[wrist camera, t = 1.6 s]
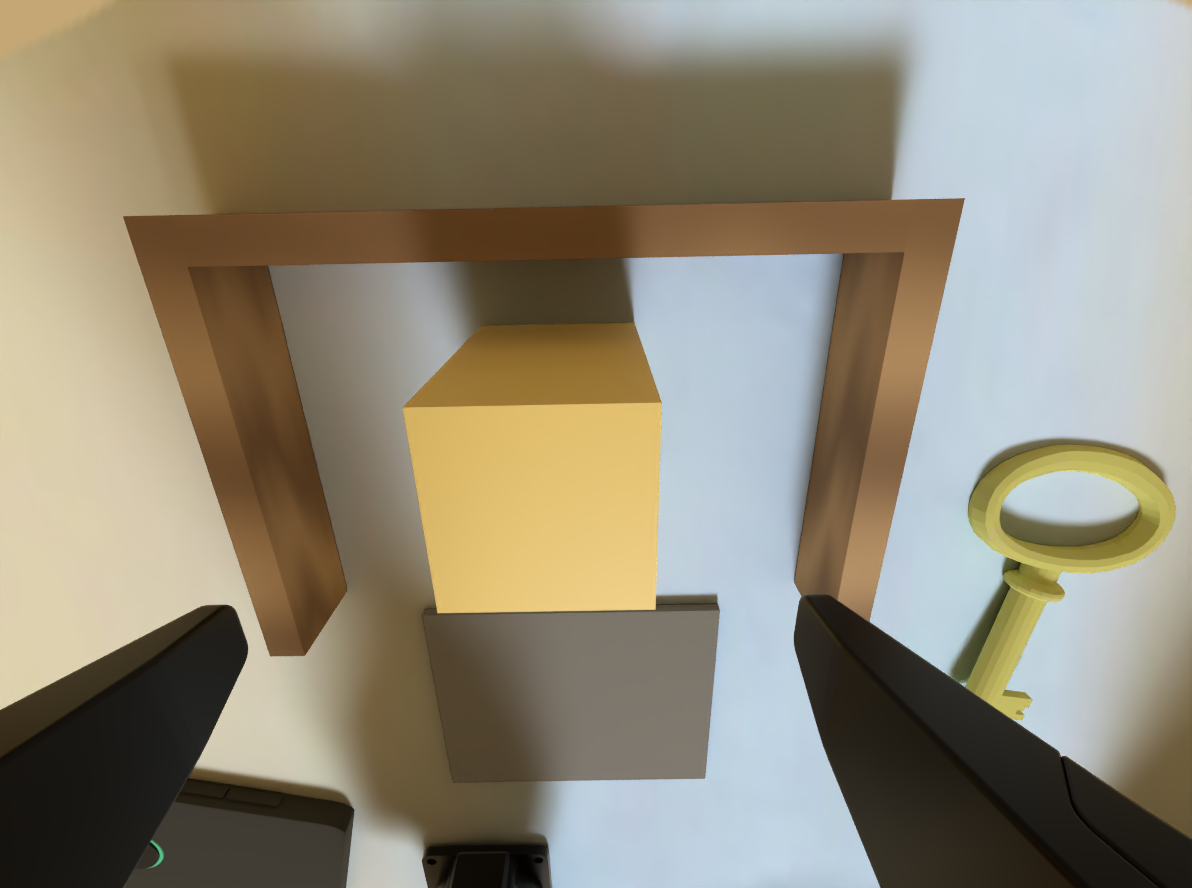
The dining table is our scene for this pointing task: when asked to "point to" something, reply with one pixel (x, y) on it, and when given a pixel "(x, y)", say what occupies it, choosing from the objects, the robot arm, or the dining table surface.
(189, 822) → the smart home device
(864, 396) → the wooden u-shaped frame
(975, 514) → the key
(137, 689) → the robot arm
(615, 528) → the mustard block
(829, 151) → the dining table surface
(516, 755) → the gray panel
